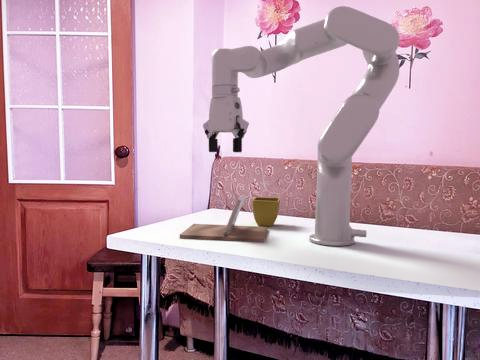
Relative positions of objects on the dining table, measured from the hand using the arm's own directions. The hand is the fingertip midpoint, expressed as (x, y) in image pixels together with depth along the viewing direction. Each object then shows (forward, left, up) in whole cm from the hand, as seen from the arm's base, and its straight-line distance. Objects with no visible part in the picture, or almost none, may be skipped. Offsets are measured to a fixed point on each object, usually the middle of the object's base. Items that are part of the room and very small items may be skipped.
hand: (225, 152), depth 128 cm
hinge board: (0, -2, -25) cm, 25 cm away
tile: (-4, -2, -18) cm, 19 cm away
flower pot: (-11, -20, -25) cm, 34 cm away
